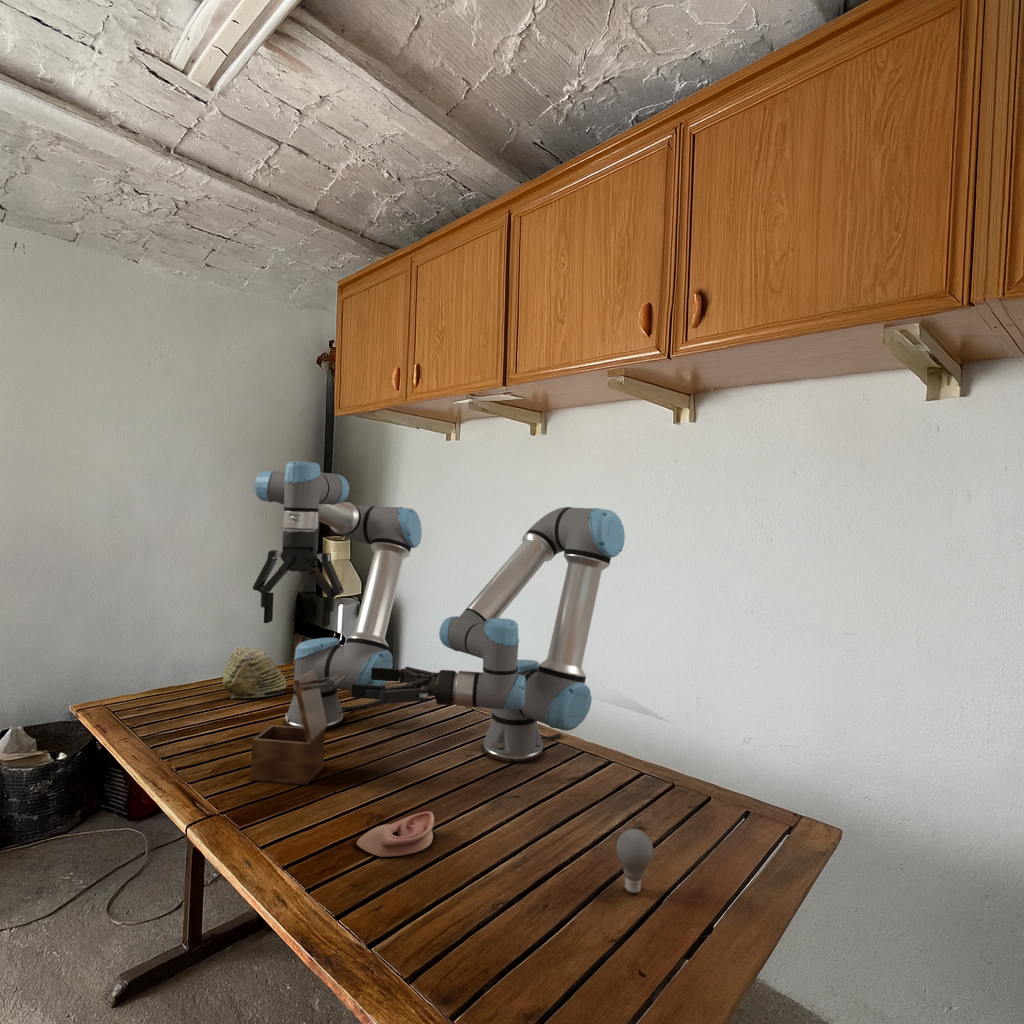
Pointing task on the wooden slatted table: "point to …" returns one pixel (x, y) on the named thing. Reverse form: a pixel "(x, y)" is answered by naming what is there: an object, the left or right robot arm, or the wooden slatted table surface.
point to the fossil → (252, 674)
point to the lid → (313, 701)
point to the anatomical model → (399, 836)
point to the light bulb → (634, 857)
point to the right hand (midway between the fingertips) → (362, 681)
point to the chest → (286, 755)
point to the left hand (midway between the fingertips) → (297, 624)
